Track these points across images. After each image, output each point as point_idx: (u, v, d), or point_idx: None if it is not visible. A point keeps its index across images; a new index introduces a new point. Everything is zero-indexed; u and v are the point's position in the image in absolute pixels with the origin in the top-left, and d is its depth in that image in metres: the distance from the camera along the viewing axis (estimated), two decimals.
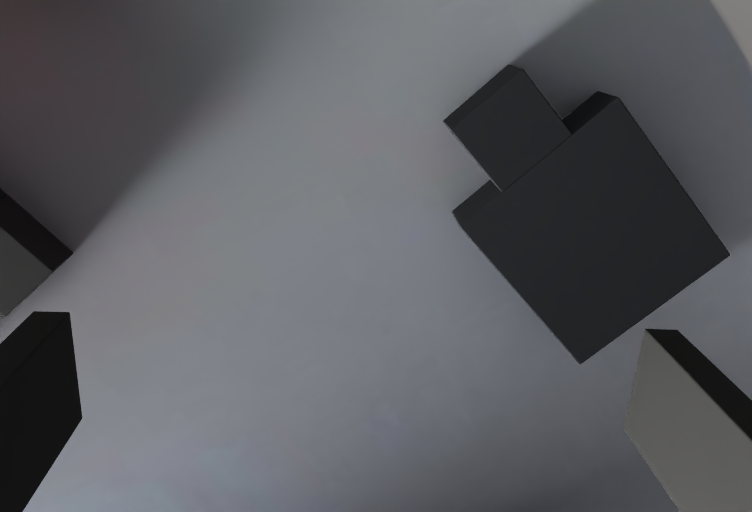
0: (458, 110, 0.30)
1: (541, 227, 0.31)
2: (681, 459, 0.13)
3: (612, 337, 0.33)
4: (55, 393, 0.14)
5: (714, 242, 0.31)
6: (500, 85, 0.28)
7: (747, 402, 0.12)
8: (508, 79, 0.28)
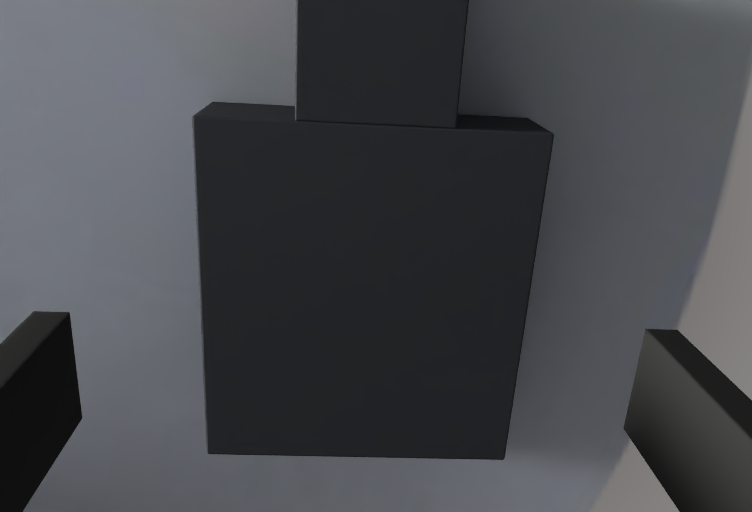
0: None
1: (308, 221, 0.17)
2: (681, 459, 0.13)
3: (279, 450, 0.19)
4: (55, 393, 0.14)
5: (500, 429, 0.19)
6: None
7: (747, 402, 0.12)
8: None
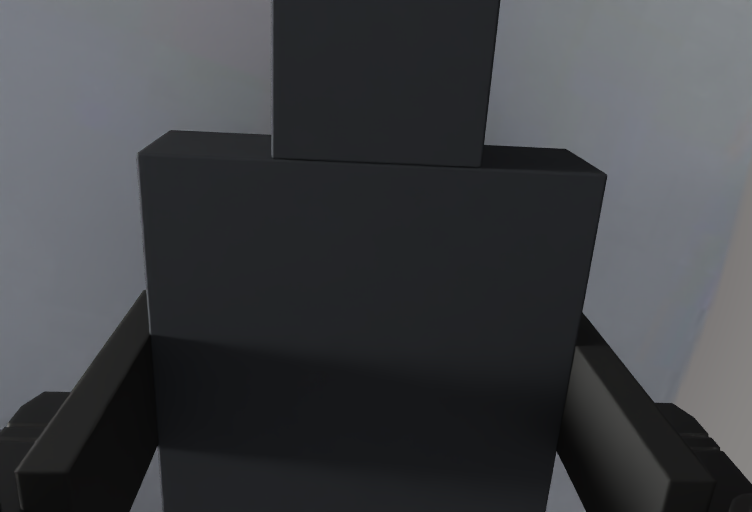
0: None
1: (290, 286, 0.13)
2: (567, 419, 0.14)
3: None
4: None
5: None
6: None
7: (618, 364, 0.13)
8: None
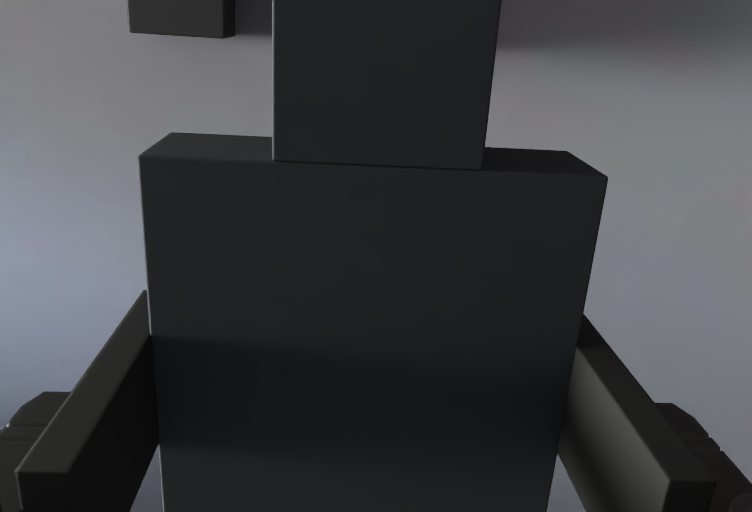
0: None
1: (290, 288, 0.13)
2: (567, 419, 0.14)
3: None
4: None
5: None
6: None
7: (618, 364, 0.13)
8: None
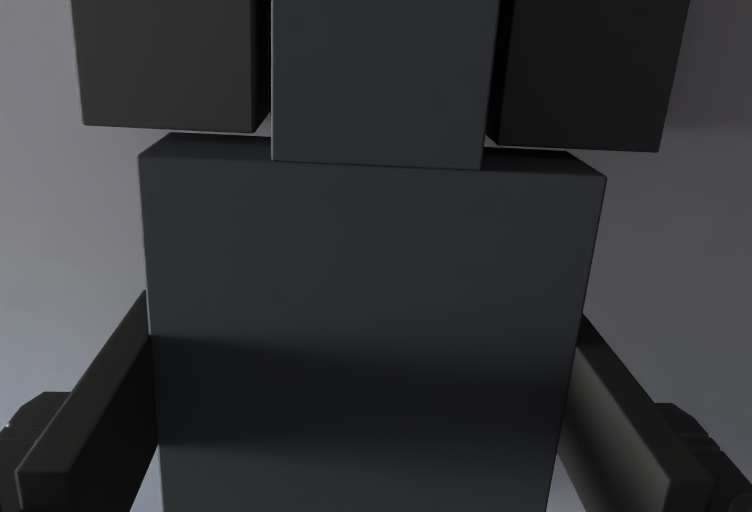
0: None
1: (290, 288, 0.13)
2: (567, 419, 0.14)
3: None
4: None
5: None
6: None
7: (618, 364, 0.13)
8: None
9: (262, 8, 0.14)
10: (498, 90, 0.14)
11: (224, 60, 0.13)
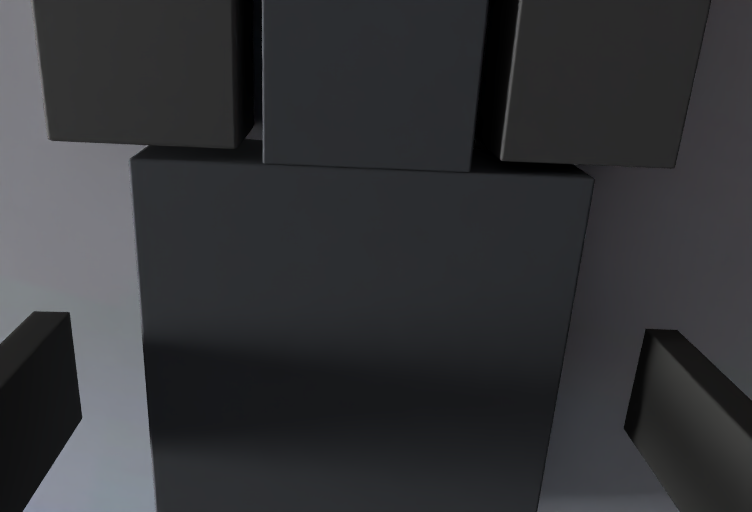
0: None
1: (282, 290, 0.13)
2: (681, 458, 0.13)
3: None
4: (55, 393, 0.14)
5: None
6: None
7: (747, 402, 0.12)
8: None
9: (246, 13, 0.13)
10: (502, 101, 0.13)
11: (203, 69, 0.12)
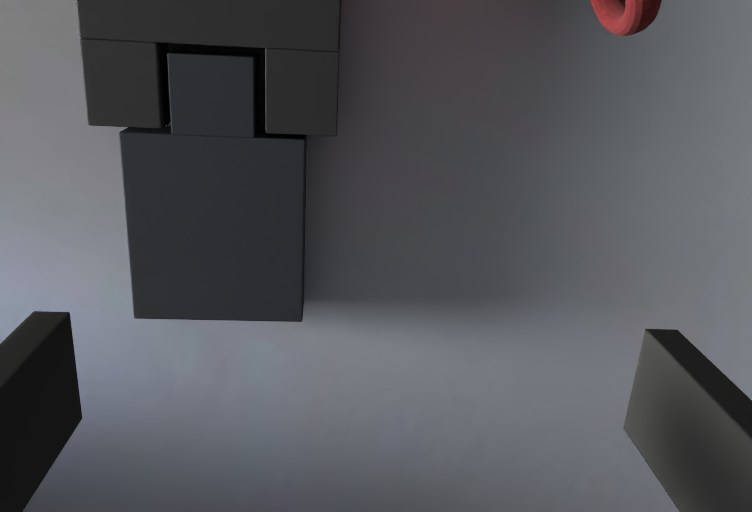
0: (194, 51, 0.32)
1: (181, 186, 0.33)
2: (682, 459, 0.13)
3: (174, 315, 0.35)
4: (55, 393, 0.14)
5: (297, 303, 0.35)
6: (230, 55, 0.31)
7: (747, 402, 0.12)
8: (238, 56, 0.31)
9: (165, 75, 0.32)
10: None
11: (147, 98, 0.31)
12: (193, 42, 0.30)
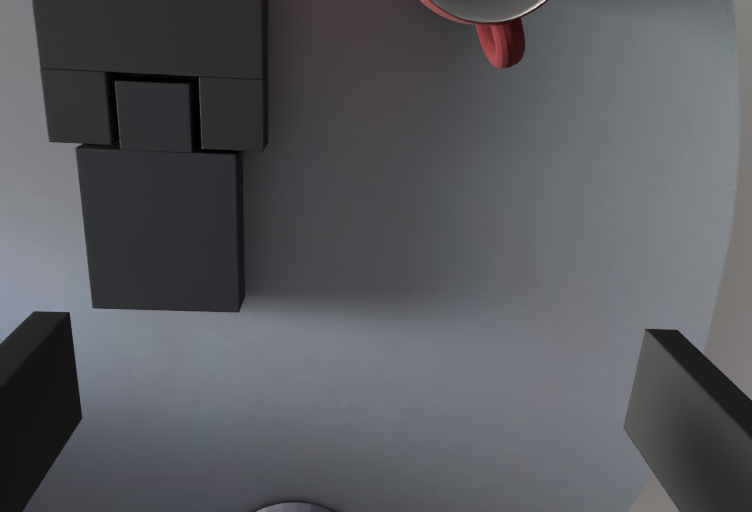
0: (141, 78, 0.38)
1: (130, 194, 0.38)
2: (682, 459, 0.13)
3: (127, 306, 0.40)
4: (55, 393, 0.14)
5: (234, 296, 0.40)
6: (169, 82, 0.36)
7: (747, 402, 0.12)
8: (176, 83, 0.36)
9: (115, 98, 0.37)
10: None
11: (98, 119, 0.36)
12: (137, 71, 0.35)
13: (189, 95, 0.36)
